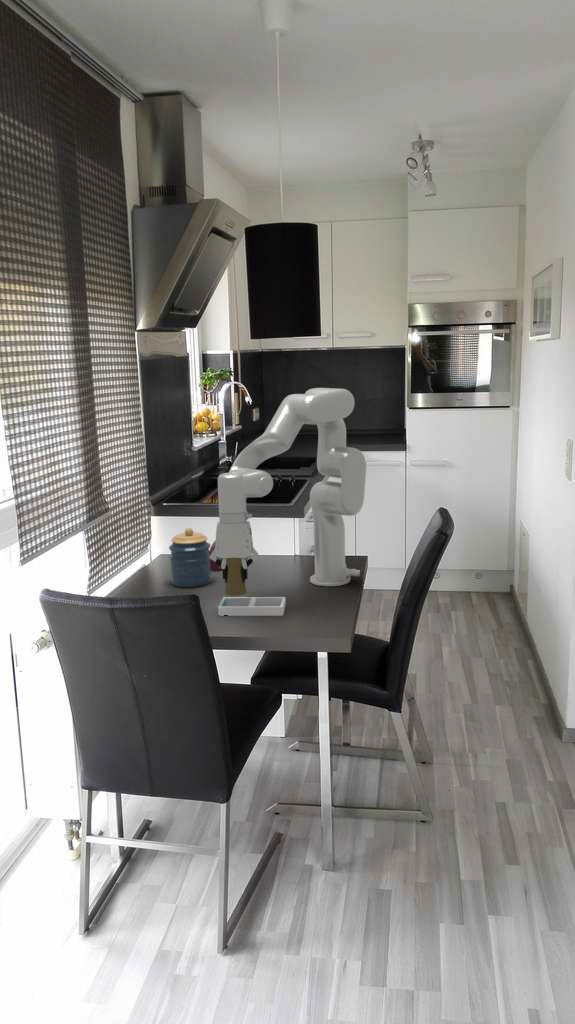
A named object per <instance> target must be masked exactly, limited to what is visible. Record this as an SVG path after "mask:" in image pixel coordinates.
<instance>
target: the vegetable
mask: <svg viewBox="0 0 575 1024" xmlns="http://www.w3.org/2000/svg"><path fill="white" fill-rule="evenodd" d="M215 544H216V539H215V540H214V541H213V542H212V544H211V545H210V547H209V553H210V554H211V553H212V552H213V550H214V549H215ZM220 559H221V560H222V558H220ZM211 570H212V571H211V572H215V571H223V569H222V568H221V567H220V566H219V565H218V564H217V563H216V562H215V561H213V560H211Z"/></svg>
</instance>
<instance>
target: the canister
mask: <svg viewBox="0 0 575 1024" xmlns="http://www.w3.org/2000/svg"><path fill="white" fill-rule="evenodd" d="M170 540H171V543H172V544H170V545H169V547H168V549H169V550H170V556H169V561H170V580H171V585H173V586H175V587H180V588H196V587H197V588H198V587H202V586H206V585H209V584H210V583H211V582H212V578H213V573H212V571H211V559H210V558H209V557H210V555H211V554H210V553H209V550H210V548H211V544H210V543H209V542H208V541H207V540H208V537H207V536H206V535H204V534H203V533H201V532H194V530H193V529H192V528H191V527H187V528H185V530H184V532H181V533H178V534H176V535H175V536H174V537H172V538H171V539H170Z"/></svg>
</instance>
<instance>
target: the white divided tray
mask: <svg viewBox="0 0 575 1024" xmlns="http://www.w3.org/2000/svg"><path fill="white" fill-rule="evenodd" d="M286 607H287V599H286V597H285V596H262V597H261V596H248V597H247V596H237V597H236V596H226V597H225V596H224V597H222V599H221V600H220V603H219V605H218V606H217V609H218V610H217V611H218V614H217V615H219V616H218V617H225V616H224V615H228V616H227V617H262V616H263V617H264V616H265V617H267V616H268V617H282V616H284V614H285V609H286Z"/></svg>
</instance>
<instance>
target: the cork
mask: <svg viewBox="0 0 575 1024" xmlns="http://www.w3.org/2000/svg"><path fill="white" fill-rule="evenodd" d="M226 565H227V566H228V567H227V583H225V588H224V589H225V590H224V595H227V596H229V597H236V596H237V597H239V596H243V595H246V594H247V586H246V582H245V583H242V577H241V569H242V566H243V565H242V560H241V559H240V558H228V559H226Z"/></svg>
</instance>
